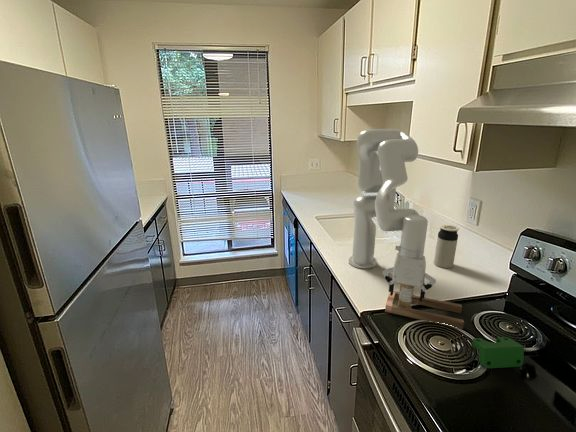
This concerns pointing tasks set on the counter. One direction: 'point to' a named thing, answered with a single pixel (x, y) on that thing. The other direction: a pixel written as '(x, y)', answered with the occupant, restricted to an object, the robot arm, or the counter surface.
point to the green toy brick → (499, 352)
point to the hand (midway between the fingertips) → (406, 296)
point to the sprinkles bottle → (405, 295)
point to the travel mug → (446, 246)
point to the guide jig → (422, 314)
